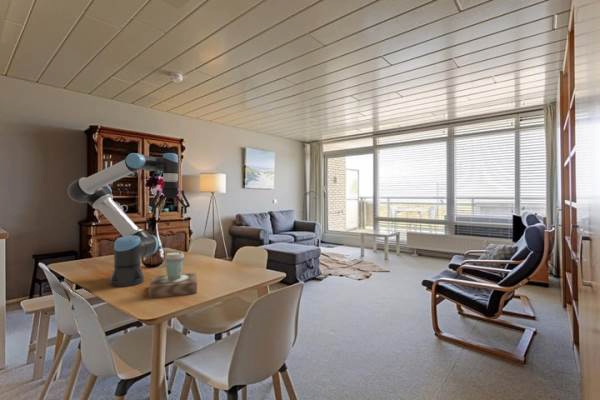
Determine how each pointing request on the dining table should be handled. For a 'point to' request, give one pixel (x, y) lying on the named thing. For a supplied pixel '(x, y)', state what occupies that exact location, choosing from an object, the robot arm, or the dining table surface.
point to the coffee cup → (174, 265)
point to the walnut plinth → (172, 285)
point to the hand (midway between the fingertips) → (170, 219)
